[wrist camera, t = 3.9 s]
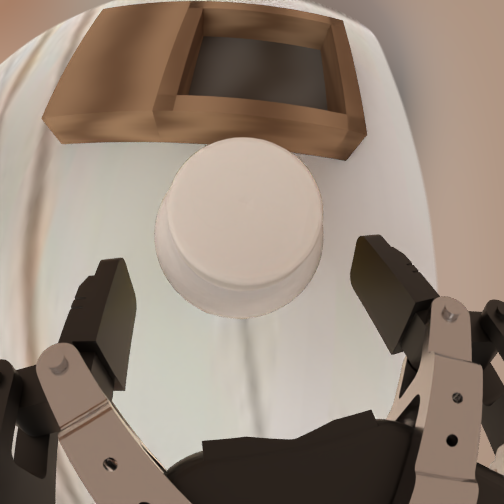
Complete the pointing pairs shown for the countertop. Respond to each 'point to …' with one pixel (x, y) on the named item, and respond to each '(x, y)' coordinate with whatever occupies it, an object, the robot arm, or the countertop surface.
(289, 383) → the countertop surface
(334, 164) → the countertop surface
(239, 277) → the supplement bottle
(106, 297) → the robot arm
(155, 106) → the cup caddy
